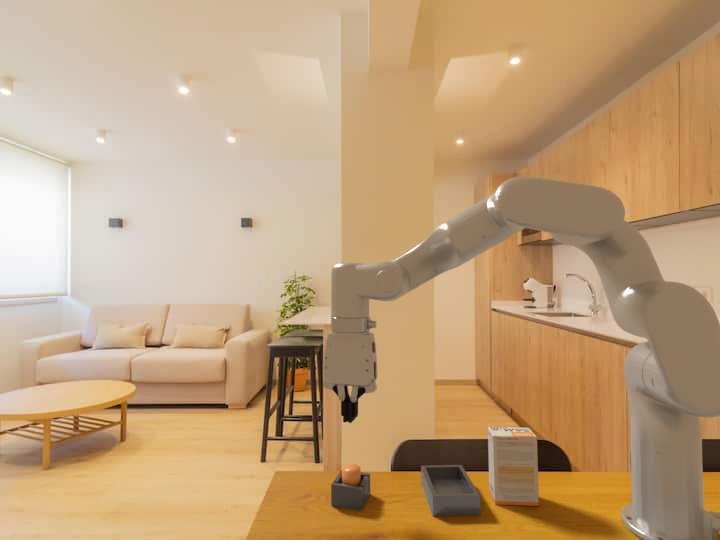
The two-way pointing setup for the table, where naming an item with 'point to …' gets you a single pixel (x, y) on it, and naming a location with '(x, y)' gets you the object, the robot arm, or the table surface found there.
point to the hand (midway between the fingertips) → (349, 420)
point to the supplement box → (513, 466)
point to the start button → (351, 475)
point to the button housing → (350, 493)
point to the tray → (449, 490)
